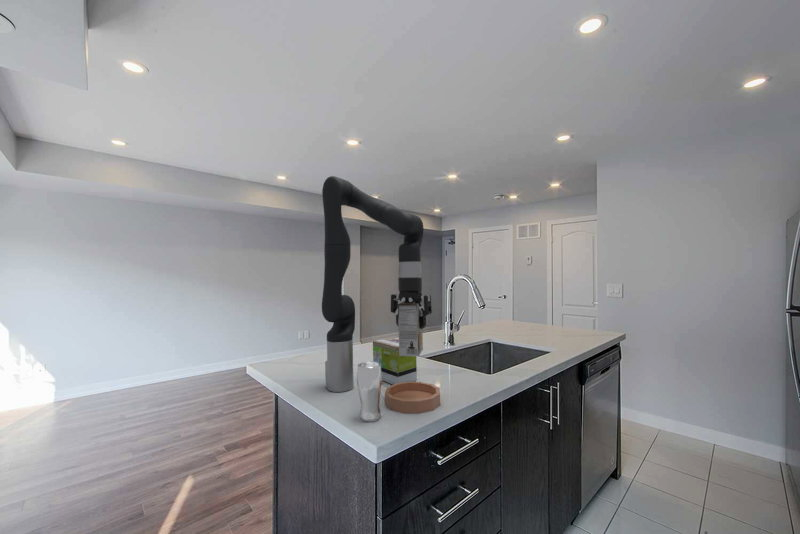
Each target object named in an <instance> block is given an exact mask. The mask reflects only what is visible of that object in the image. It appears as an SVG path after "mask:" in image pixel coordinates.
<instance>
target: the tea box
mask: <svg viewBox="0 0 800 534" xmlns="http://www.w3.org/2000/svg"><path fill="white" fill-rule="evenodd" d="M372 359H373V360H372V362H379V363H380V364H381V373H382V382H386V383H388V384H391V385H394V384H397V383H403V382H417V381H418V379H417V375H418V374H417V371H418V369H417V368H418V367H417V356H399V338H395V337H391V336H390V337H387V338H382V339H378V340H373V341H372Z"/></svg>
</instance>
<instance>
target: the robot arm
mask: <svg viewBox="0 0 800 534" xmlns="http://www.w3.org/2000/svg"><path fill="white" fill-rule="evenodd" d="M321 190H322V206H323V217H324V218H323V219H324V246H323V247H324V253H323V255H324V256H323V257H324V270H323V272H324V274H323V276H324V278H323V279H324V280H323V288H322V289H323V291H322V297H321V298H322V299H321V312H322V316H323V318H324V319H325V320H326V321H327V322H329V323H333V324H332V327H331V328H330V330H328V331H327V333H326V359H327V360H325V362H324V363H325V366H324V368H325V369H324V370H325V372H324V373H325V389H327V391H330V392H332V393H333V392H334V393H340V392H341V393H342V392H347V391H350V390H352V389H353V388H354V348H353V347H354V344H353V343H354V342H353V341H354V340H353V339H354V337H353V336H354V333H355V330H356V328H355V327H356V306H355V302H354V300H353V298H352V297H351V296H349V295H347V294H343V293H342V292H343V291H342V287H343V281H344V277H345V274H346V273H347V270H348V267H349V265H350V261H351V253H352V252H351V248H352V247H351V238H350V235H349V232H348V230H347V227H346V225H345V222H344V220H343V216H342V215H343V214H342V206H347V207H351V208H353V209H357V210H358V211H361V212H362V213H364V214H365V215H366V216H367V217H369V218H371V219H372V220H374V221H375V222H378V223H380V224H381V225H385V226H386V227H388V228H389V229H391V230H392V231H393V232H395V233H397V234H399V235H402V236H404V237H403V243H401V244H400V245H399V247H398V266H397V267H398V268H397V282H398V283H397V285H398V286H397V290H398V291H399V293H395V294H394V293H392V294H390V313H392V314H395V324H396V327H398V304H400V303H420V307H419V315H420V317H419V328H420V329H422V330H423V329H425V327H426V326H427V316H429V315H432V313H433V311H432V295H430V294H426V295H425V294H424V295H423V293H422V291H423V282H422V281H423V278H422V277H423V273H422V270H423V269H422V262H421V257H422V256H421V246H422V242H423V237H424V223H423V221H422V219H421V217H420V216H419V215H415V214H412V213H409V212H406V211H404V210H401V209H399V208H397V207H396V206H395V205H392V204H391V203H389V202H386V201H384V200H382V199H380V198H376V197H375V196H371V195H369V194H367V193H365V192H363V191H362V190H361V189H359V188H358V187H357V186H356V185H354V184H352V183H351V182H350V181H349V180H346V179H344V178H341V177H338V176H333V175H331V176H329V177H327V178H326V179H325V180H324V182H323V185H322V189H321ZM421 301H422V303H421Z"/></svg>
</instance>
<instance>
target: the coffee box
mask: <svg viewBox="0 0 800 534" xmlns="http://www.w3.org/2000/svg"><path fill="white" fill-rule="evenodd" d="M421 303H422V304H423V300H421ZM419 307H420V303H400V302H399V303H398V326H397V327H398V339H399V356H416V357H419V356H420V355H421V354H422V352H423V350H424V346H423V345H424V342H423V340H424V339H423V334H424V333H423V329H420V328H419V317H420V315H419Z"/></svg>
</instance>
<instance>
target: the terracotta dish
mask: <svg viewBox="0 0 800 534" xmlns="http://www.w3.org/2000/svg"><path fill="white" fill-rule="evenodd" d="M440 390H441V389H440V387H439V386H436V385H435V384H432V383H430V382H429V383H428V382H423V381H414V382H403V383H397V384H394V385H393V384H391V385H390V386H388V387H386V388H385V391H384V405H385V406H386V407H387V408H388V409H389V410H391V411H395V412H399V413H402V414H423V413H426V412H427V413H428V412H432V411H434V410H435V409H438V408H439V407H440V406H441V391H440Z"/></svg>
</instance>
